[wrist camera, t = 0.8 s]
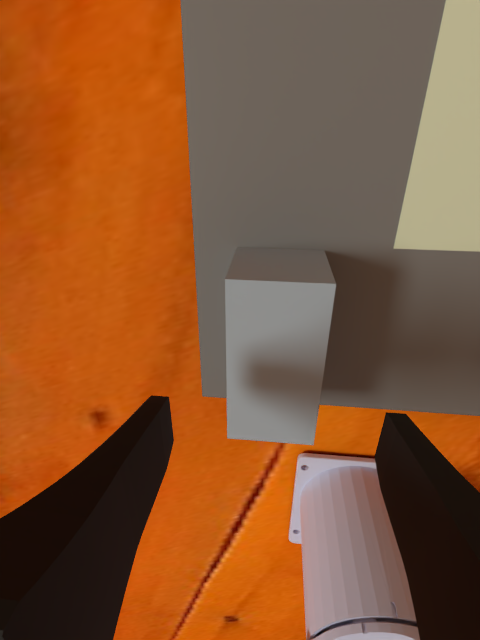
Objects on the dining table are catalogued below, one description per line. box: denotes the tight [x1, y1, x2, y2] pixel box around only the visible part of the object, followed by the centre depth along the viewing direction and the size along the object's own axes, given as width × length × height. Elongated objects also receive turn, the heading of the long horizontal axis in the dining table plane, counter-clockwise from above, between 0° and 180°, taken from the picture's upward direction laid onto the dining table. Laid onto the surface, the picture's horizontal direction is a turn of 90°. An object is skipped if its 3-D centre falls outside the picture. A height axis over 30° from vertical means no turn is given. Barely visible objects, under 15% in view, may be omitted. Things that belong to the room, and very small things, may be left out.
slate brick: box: [225, 247, 336, 445], centre depth 17 cm, size 8×4×4 cm, turn 0°
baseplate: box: [181, 0, 480, 416], centre depth 16 cm, size 19×23×1 cm
